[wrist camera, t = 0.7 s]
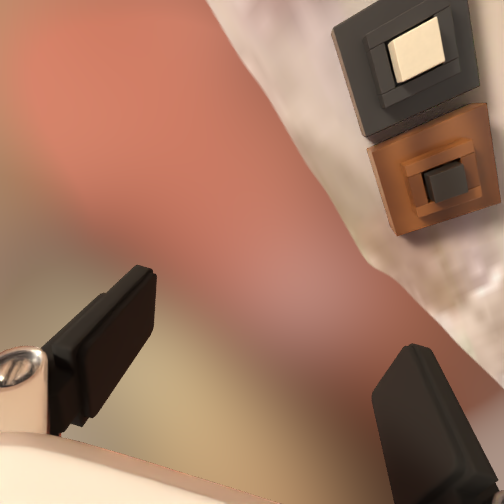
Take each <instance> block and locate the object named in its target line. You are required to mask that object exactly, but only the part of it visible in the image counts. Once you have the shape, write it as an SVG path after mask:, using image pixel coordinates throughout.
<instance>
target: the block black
mask: <svg viewBox="0 0 504 504" xmlns="http://www.w3.org/2000/svg"><path fill="white" fill-rule="evenodd" d="M434 17H437V18H438V24H439V29H440V35H441V40H442V45H443V51H444V56H445V61H444V62H443V63H441V64H439V65H437V66H435V67H433V68H431V69H429V70H427V71H425V72H423V73H421V74H419V75H417V76H414V77H412V78H410V79H408V80H406V81H404V82H401V83H397V81H396V77H395V72H394V68H393V64H392V60H391V56H390V52H389V48H388V44H389V43H390V42H391V41H393V40H394V39H396V38H398V37H400V36H402V35H403V34H405V33H407V32H409V31H411V30H413V29H414V28H416V27H418V26H420V25H422V24H423V23H425V22H427V21H429V20H431V19H433V18H434ZM331 35H332V38H333V41H334V45H335V48H336V51H337V54H338V58H339V61H340V64H341V67H342V71H343V74H344V77H345V80H346V84H347V87H348V90H349V93H350V97H351V100H352V103H353V106H354V110H355V113H356V116H357V119H358V123H359V126H360V129H361V132H362V135H363V136H365V137H368V136H370V135H372V134H374V133H376V132H379V131H381V130H383V129H385V128H388V127H390V126H392V125H394V124H396V123H399V122H401V121H403V120H405V119H408V118H410V117H412V116H414V115H416V114H419V113H421V112H423V111H425V110H427V109H430V108H432V107H434V106H436V105H439V104H441V103H443V102H445V101H447V100H450V99H452V98H454V97H456V96H459V95H461V94H463V93H465V92H467V91H470V90H472V89H474V88H476V87H478V86H480V81H479V74H478V68H477V61H476V54H475V48H474V41H473V34H472V28H471V21H470V14H469V8H468V1H467V0H378V1H377V2H375V3H373V4H372V5H370V6H368V7H367V8H365V9H363V10H362V11H360V12H358V13H357V14H355V15H353V16H352V17H350V18H348V19H347V20H345V21H343V22H342V23H340V24H338V25H337V26H335V27H334V28H333V30H332V33H331Z"/></svg>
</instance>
